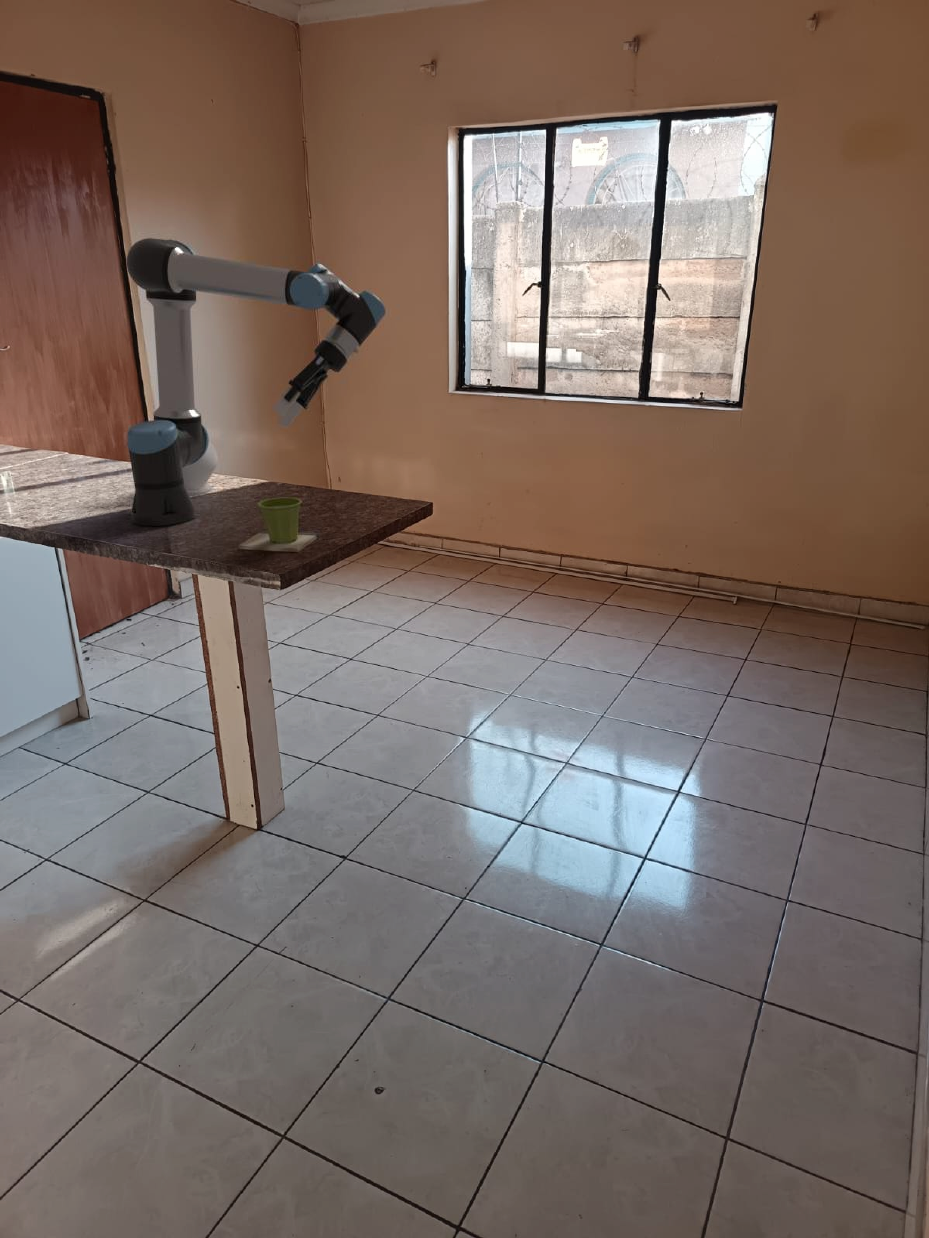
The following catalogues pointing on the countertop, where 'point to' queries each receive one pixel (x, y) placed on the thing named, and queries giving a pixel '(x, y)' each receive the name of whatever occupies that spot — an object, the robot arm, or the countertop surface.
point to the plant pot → (281, 518)
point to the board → (264, 543)
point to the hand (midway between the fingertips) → (279, 418)
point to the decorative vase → (200, 472)
